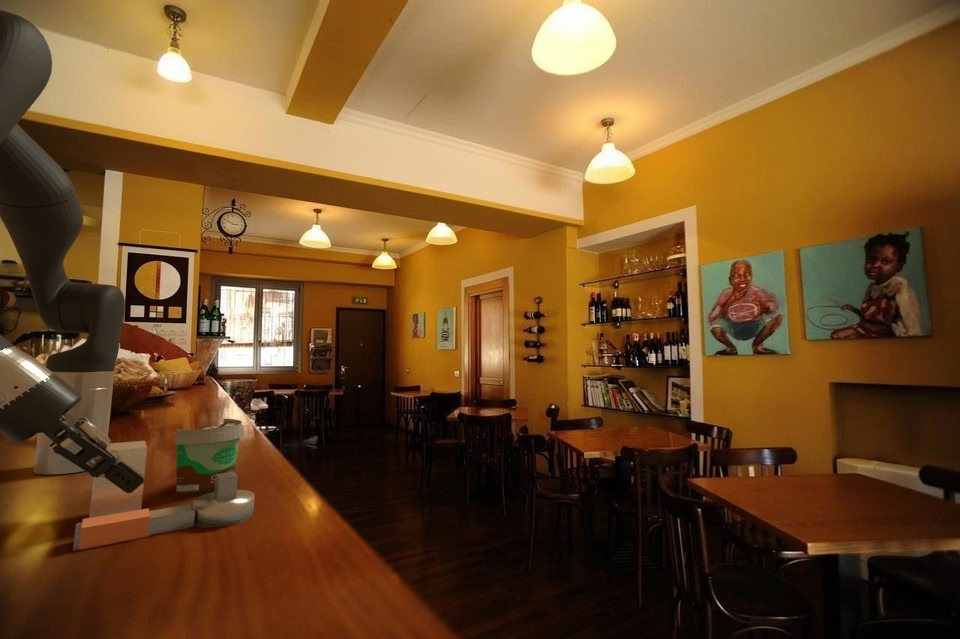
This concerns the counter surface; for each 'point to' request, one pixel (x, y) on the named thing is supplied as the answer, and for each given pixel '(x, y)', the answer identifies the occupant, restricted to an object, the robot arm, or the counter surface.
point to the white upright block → (108, 494)
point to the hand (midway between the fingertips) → (136, 481)
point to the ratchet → (170, 516)
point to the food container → (206, 456)
